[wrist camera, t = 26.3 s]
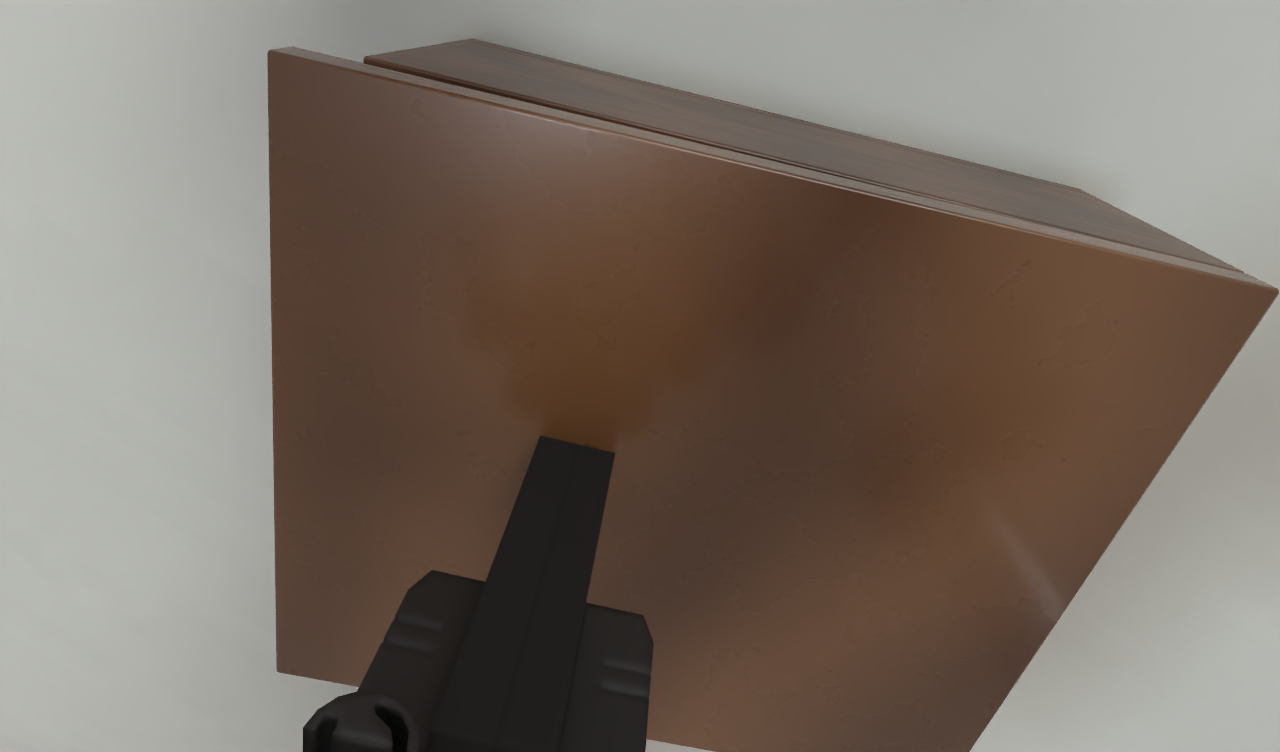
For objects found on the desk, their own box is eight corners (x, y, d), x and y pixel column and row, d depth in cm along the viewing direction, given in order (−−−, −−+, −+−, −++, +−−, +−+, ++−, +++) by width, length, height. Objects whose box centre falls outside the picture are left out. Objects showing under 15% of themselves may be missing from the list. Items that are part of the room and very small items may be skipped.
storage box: (424, 483, 25) (338, 631, 20) (470, 38, 19) (362, 54, 13) (880, 587, 26) (932, 761, 20) (1080, 189, 19) (1247, 273, 13)
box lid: (291, 645, 19) (275, 673, 18) (290, 44, 12) (265, 48, 11) (932, 763, 20) (942, 794, 19) (1248, 273, 13) (1282, 291, 13)
